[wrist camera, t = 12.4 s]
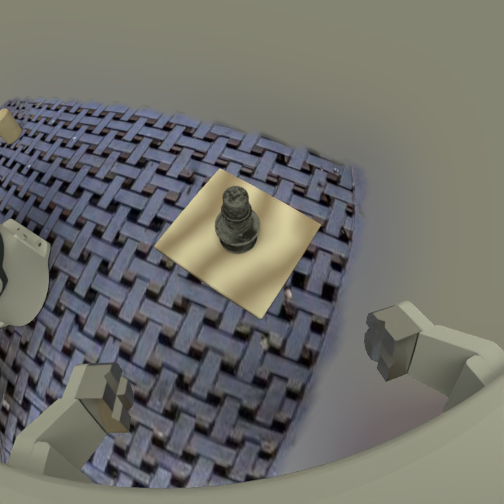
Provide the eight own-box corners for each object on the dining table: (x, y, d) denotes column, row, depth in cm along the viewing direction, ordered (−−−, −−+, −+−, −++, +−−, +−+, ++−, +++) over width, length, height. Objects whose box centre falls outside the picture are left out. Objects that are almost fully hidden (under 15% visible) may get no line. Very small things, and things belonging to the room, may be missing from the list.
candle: (24, 126, 54) (8, 102, 44) (17, 141, 52) (-1, 117, 42) (11, 132, 53) (-5, 109, 44) (4, 147, 51) (-14, 124, 42)
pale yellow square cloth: (156, 249, 41) (154, 246, 40) (220, 172, 46) (219, 168, 45) (260, 320, 38) (261, 318, 37) (319, 228, 43) (320, 224, 42)
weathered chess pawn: (223, 214, 42) (215, 161, 31) (263, 221, 42) (268, 170, 31) (212, 251, 40) (199, 206, 29) (254, 260, 40) (257, 217, 29)
